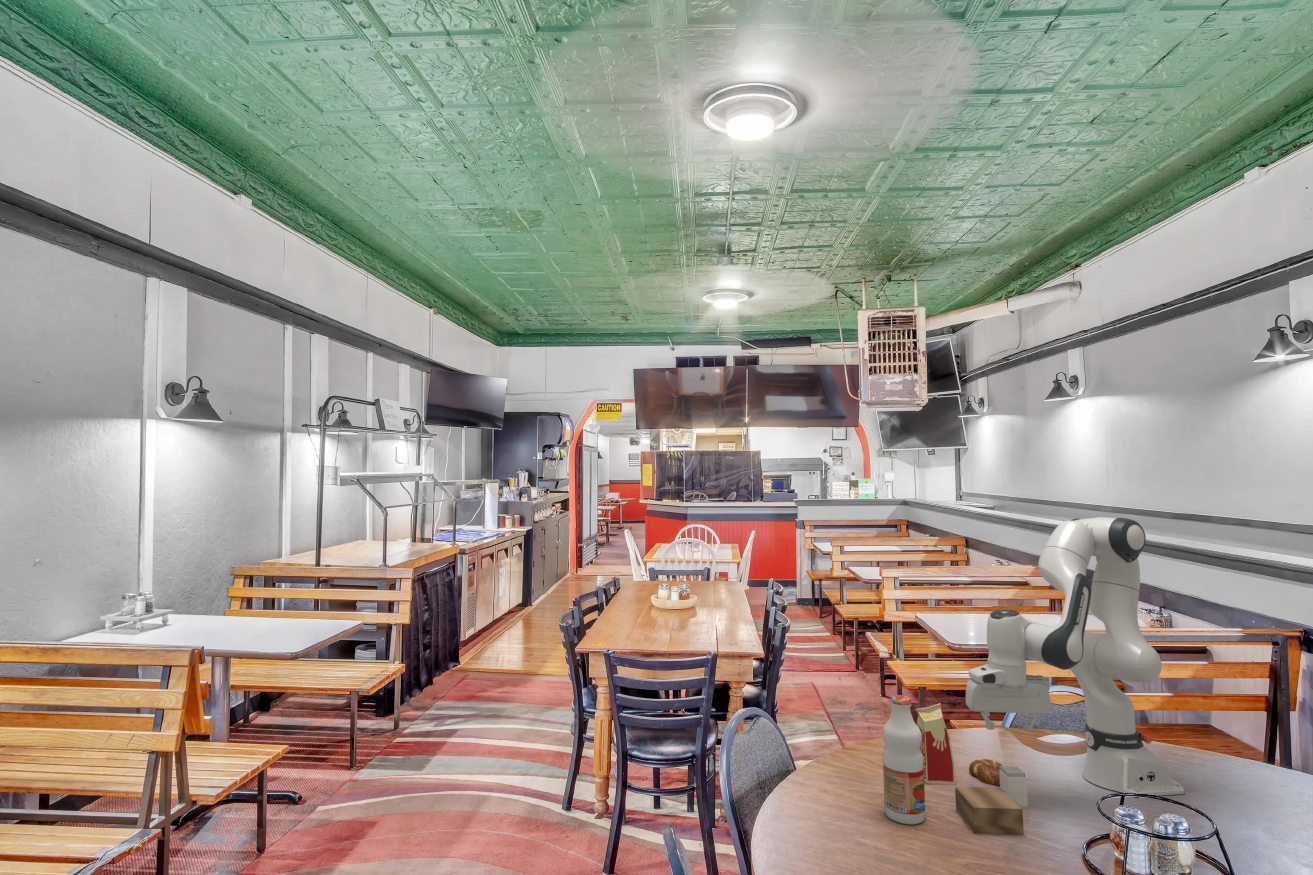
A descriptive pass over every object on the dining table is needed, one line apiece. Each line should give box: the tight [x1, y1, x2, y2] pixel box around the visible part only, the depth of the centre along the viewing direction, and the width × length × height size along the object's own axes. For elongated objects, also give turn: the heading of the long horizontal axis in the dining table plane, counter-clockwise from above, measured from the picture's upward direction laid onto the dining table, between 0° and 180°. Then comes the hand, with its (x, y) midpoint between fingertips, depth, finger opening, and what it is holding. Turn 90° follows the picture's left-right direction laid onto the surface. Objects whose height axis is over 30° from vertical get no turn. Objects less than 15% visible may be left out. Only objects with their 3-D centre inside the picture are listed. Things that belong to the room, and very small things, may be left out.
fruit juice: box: [882, 694, 926, 825], centre depth 160 cm, size 9×9×28 cm
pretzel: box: [968, 758, 1004, 787], centre depth 181 cm, size 12×11×4 cm
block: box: [954, 786, 1025, 836], centre depth 156 cm, size 11×11×6 cm
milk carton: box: [915, 702, 956, 786], centre depth 182 cm, size 9×9×20 cm
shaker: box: [999, 765, 1029, 808], centre depth 167 cm, size 5×5×8 cm
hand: (1009, 729), depth 168 cm, fingers open, 8 cm apart
